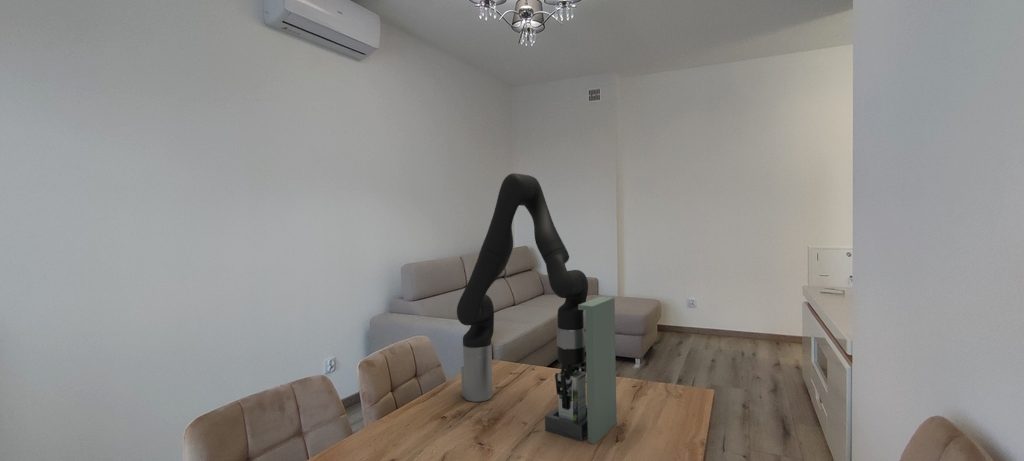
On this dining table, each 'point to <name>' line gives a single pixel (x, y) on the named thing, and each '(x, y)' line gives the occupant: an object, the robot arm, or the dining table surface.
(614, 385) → the long narrow green plank
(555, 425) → the socket
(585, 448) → the dining table surface
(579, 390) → the syrup box
